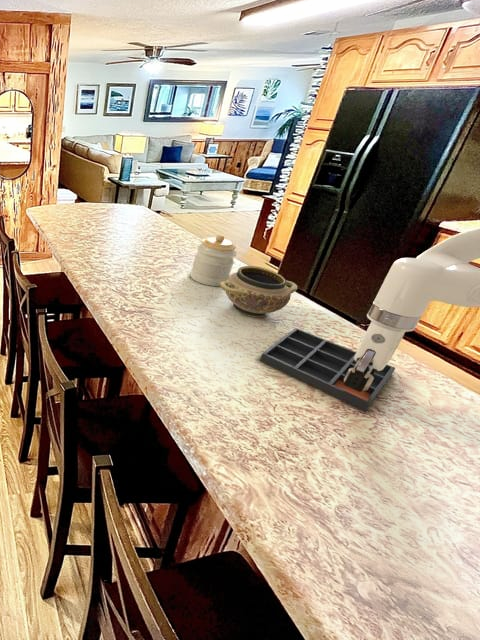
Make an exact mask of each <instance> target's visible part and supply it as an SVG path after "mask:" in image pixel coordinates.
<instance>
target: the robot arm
mask: <svg viewBox="0 0 480 640" xmlns="http://www.w3.org/2000/svg"><path fill="white" fill-rule="evenodd" d="M478 259H480V227H476V228H472V229H469V230H465V231H461V232H459V233H457V234H453V235H451V236H449V237H447V238H445V239H444V240H442V241H440V242H439V243H437V244H435V245H433V246H431V247H429V248H428V249H427V250H425V251H423V252H422V253H421V254H419V255H417V256H416V257H401V258H399V259H396V260H395V261H394V262H393V263H392V265H391V267H390V268H389V271H388V273H387V274H386V276H385V278H384V280H383V283H382V284H381V286H380V288H379V290H378V292H377V294H376V296H375V298H374V300H373V302H372V304H371V306H370V308H369V310H368V311H367V314H366V317H367V319H368V320H369V321H370V323H369V325H368V327H367V329H366V331H365V333H364V335H363V336H362V339H361V341H360V343H359V346H358V348H357V350H356V351H355V352H356V354H355V356H354V360H355V361H357V363H356V364H355V366H354V368H353V370H351V371H350V373H349V375H348V377H347V379H346V381H345V383H344V385H345V386H348V387H350V388H352V389H354V390H356V391H358V392H362V390H363V389H364V387H365V385H366V383H367V381H368V380H369V377H368V376H369V375H370V374H371V375H372V376H373V374H374V372H375V371H376V369H377V371H381V370H383V369H384V367H385V366H386V365H388V363H389V362H390V361H391V359H392V357H393V356H394V353H395V352H396V351H397V348H398V347H399V346H400V343H401V341H402V339H403V338H404V336H405V333H408V332H413V331H414V330H415V329H416V327H417V325H418V324H419V322H420V320H421V318H422V317H423V315H424V313H425V311H426V310H427V308H428V307H429V304H430V303H431V302H433V301H435V302H439V303H444V304H447V305H452V306H457V307H463V308H479V307H480V267H478V266H475V265H474V264H471V262H473V261H476V260H478Z"/></svg>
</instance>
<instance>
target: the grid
mask: <svg viewBox="0 0 480 640" xmlns="http://www.w3.org/2000/svg"><path fill="white" fill-rule="evenodd" d="M356 352H357V351H355V350H353V349H350V348H348V347H345V346H343V345H340V344H337V343H335V342H332V341H330V340H328V339H325V338H323V337H320V336H318V335H315V334H314V333H313V334H312V333H311V332H307V331H305V330H303V329H300V328H298V327H294V328H293V329H292V330H290V331H289V332H288V333H287V334H286V335H284V336H283V337H282V338H280V339H279V340H278V341H277V342H275V343H274V344H273V345H271V346H270V347H269V348H267V349H266V350H265V351H264V352H263V353H261V355H260V358H259V362H261V363H263V364H265V365H267V366H269V367H271V368H273V369H276V370H278V371H279V372H281V373H284V374H286V375H288V376H290V377H292V378H294V379H296V380H298V381H300V382H302V383H304V384H306V385H309V386H310V387H313V388H314V389H317V390H319V391H321V392H323V393H325V394H327V395H329V396H331V397H334V398H335V399H337V400H339V401H342V402H344V403H346V404H347V405H350V406H352V407H353V408H356V409H358V410H360V411H362V412H364V413H366V412H367V411H368V409H369V408H370V406H371V405H372V404H373V402H374V401H375V399H376V398H377V397H378V395H379V393H380V392H381V391H382V389H383V388H384V386H385V385H386V383H387V382H388V381H389V379H390V378H391V376H392V375H393V373H394V371H395V370H396V367H395V366H393V365H390V364H387V365H386V366H385V367H384V369H383V370H381V371H377V369H376V371H375V372H374V374H373V377H374V380H373V381H372V383H371V385H370V387H369V388H368V390H366V391H362V392H358V391H356V390H354V389H352V388H350V387H348V386H345V385H344V383H345V382H344V378H345V376H346V374H347V372H348V370H349V369H350V368H354V366H355V364H356V363H357V361H355V360H354V356H355V354H356Z"/></svg>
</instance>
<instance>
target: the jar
mask: <svg viewBox="0 0 480 640" xmlns="http://www.w3.org/2000/svg"><path fill="white" fill-rule="evenodd" d="M200 243H201V244H199V245H197V247H196V249H197V252H196V253H195V255H194V259H193V262H192V266H191V269H190V277H191V279H193V280H194V281H196V282H197V283H200V284H203V285H206V286H213V287H220V283H221V282H222V281H226V279H227V278H228V277H229V276H230V275H231V271H232V269H233V265H234V263H235V261H234V258H235V257H236V256H237V252H236V248H237V246H236V245H235V244H234V243H233V242H232V241H231V240H229V239H226V238H225V236H224V235H223V234H218V235H216V237H215V236H210V237H209V236H208V237H207V238H204V239H202V240H201V242H200Z"/></svg>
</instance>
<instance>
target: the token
mask: <svg viewBox="0 0 480 640" xmlns="http://www.w3.org/2000/svg"><path fill="white" fill-rule="evenodd" d="M351 370H353V368H350V369H349V370H348V372H347V374H346V376H345V378H344V382H345V381H346V379H347V377H348V375H349V373H350V371H351ZM368 377H369V380H368V381H367V383H366V385H365V387H364V389H363V390H362V391H366V390H368V388H369V387H370V385H371V383H372V381H373V380H374V377H373V376H372V375H371V374H370V375H369V376H368Z"/></svg>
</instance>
